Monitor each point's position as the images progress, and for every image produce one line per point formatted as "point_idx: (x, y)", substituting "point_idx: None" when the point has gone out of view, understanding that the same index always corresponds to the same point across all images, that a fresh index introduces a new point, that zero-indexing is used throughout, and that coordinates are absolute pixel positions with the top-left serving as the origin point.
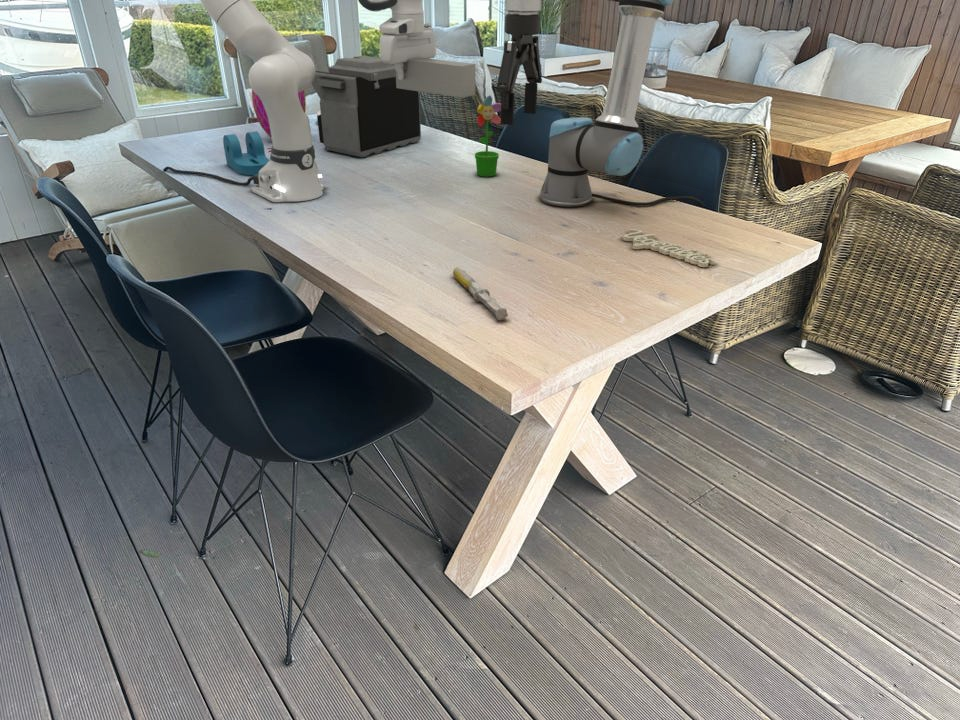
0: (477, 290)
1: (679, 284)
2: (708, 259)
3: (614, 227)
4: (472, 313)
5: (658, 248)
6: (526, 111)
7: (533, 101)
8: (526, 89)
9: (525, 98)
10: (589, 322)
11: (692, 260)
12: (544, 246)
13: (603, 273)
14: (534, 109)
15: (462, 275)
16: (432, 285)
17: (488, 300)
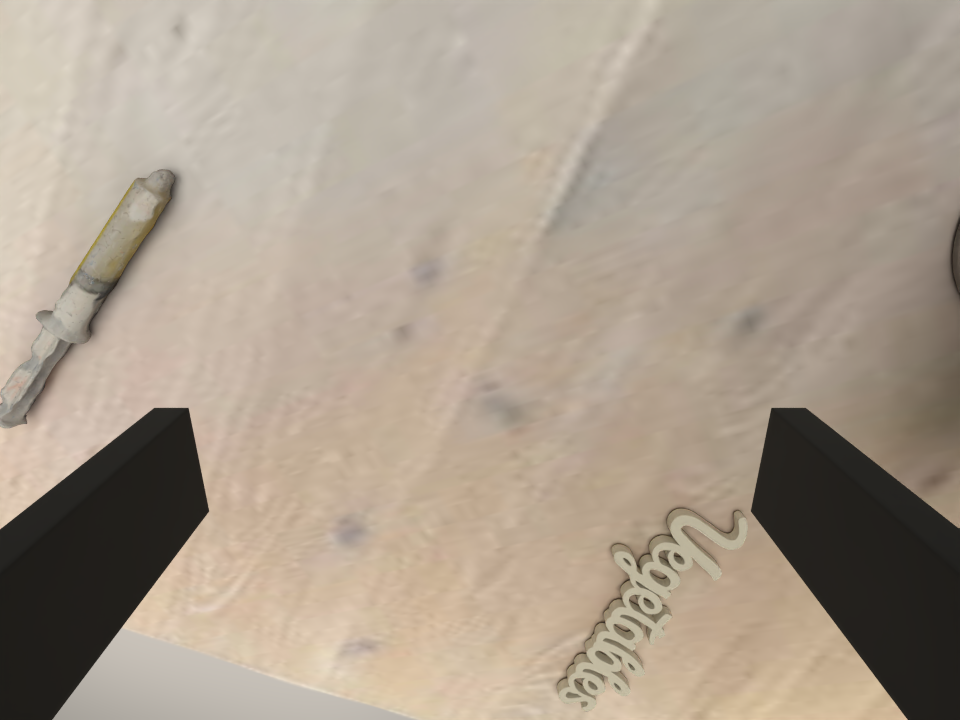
0: (49, 319)
1: (439, 663)
2: (587, 701)
3: None
4: (4, 330)
5: (623, 602)
6: (777, 439)
7: (821, 575)
8: (952, 595)
9: (865, 499)
10: None
11: (569, 675)
12: (533, 330)
13: (417, 522)
14: (771, 533)
15: (104, 233)
16: (66, 142)
17: (34, 363)
